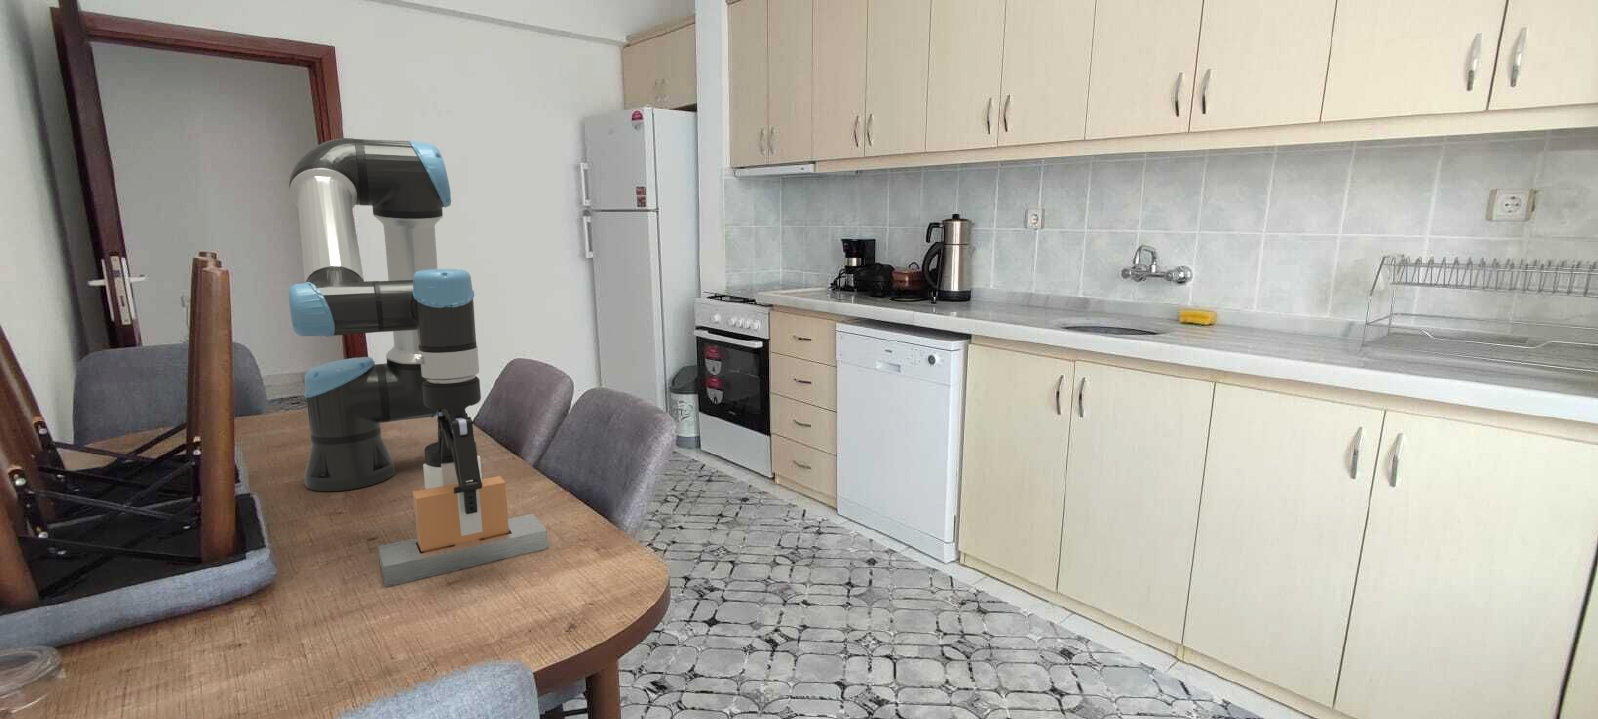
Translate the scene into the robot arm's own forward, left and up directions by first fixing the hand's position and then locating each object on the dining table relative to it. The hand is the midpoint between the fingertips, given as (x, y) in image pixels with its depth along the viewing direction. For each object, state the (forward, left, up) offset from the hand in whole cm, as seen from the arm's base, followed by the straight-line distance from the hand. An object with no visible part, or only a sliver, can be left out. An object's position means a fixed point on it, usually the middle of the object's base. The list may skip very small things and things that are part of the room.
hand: (462, 517), depth 109 cm
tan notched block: (0, 0, -6) cm, 6 cm away
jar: (-20, +2, -6) cm, 21 cm away
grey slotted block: (0, 0, -6) cm, 6 cm away
